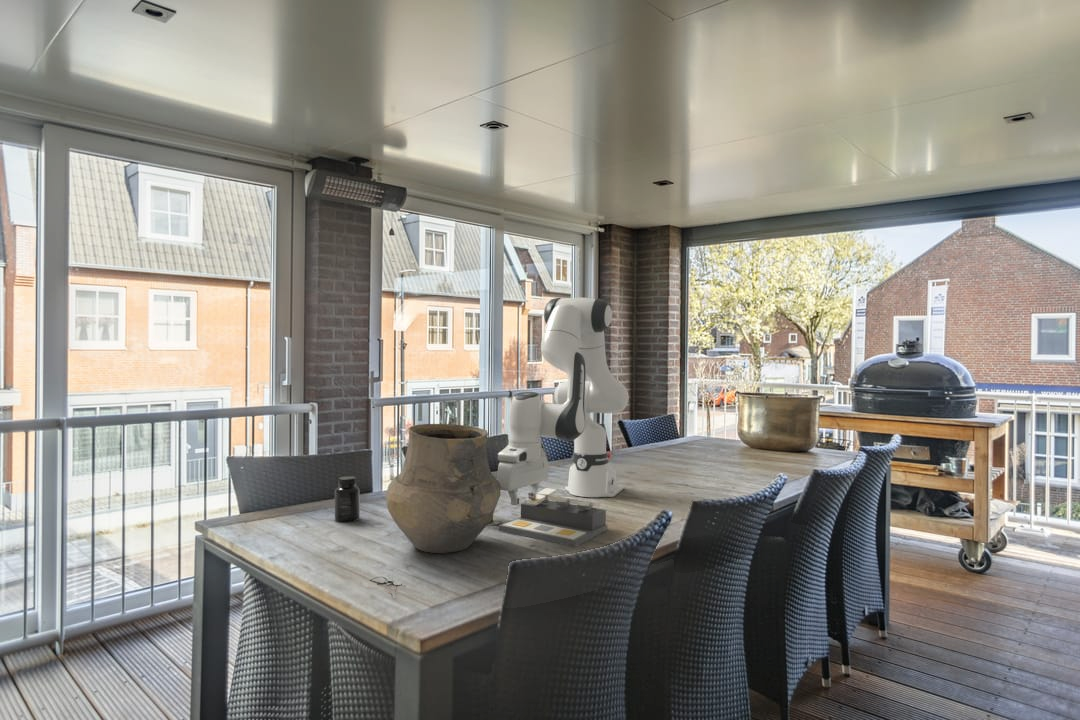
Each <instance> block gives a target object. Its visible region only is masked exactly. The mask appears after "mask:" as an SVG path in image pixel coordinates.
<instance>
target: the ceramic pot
mask: <svg viewBox="0 0 1080 720" xmlns="http://www.w3.org/2000/svg"><path fill="white" fill-rule="evenodd" d="M488 437H489V433H488V430H486V429H483V428H479V427H475V426H470V425H464V424H463V425H462V424H452V423H423V424H416V425H411V426H410V427H408V443H407V447H406V449H407V450H406V452H405V453H406V454H405V458H404V462H403V465H402V469H401V472H400V473H399V474H397V475H396V476H394V477H393V479H392V480H391V481H390V483H389V484H388V486H387V490H386V493H385V503H386V506H387V510H388V512H389V514H390V516H391V518H392V520H393V521H394V523H395V524H396V525H397V527H398V528H399V530H401V532H402V533H403V534H404V535H405V537H406V538H407V540H408V541H410V543H411V544H412V545H413V547H414V548H416V549H417V550H418V551H420V550H421V552H422V551H425V552H424V553H427V552H432V553H431V554H447V553H446V552H450V553H455V552H454V551H457V552H461V551H463V549H464V550H465V548H466V549H468V548H469V547H470V546H471V545H472V543H473V542H474V541H475V540H476V539H477V538H478V536H479V535H480V534H481V533H482V532H483V530H485V528H486V527H487V526H489V525H488V524H489V523H490V521H491V519H492V516H493V517H494V513H495V510H496V508H497V505H498V503H499V500H500V497H501V491H502V490H501V486H500V483H499V482H498V478H496V476H494V475H493V474H492V471H491V467H490V466H489V465H490V464H489V461H488V456H487V440H488ZM460 550H461V551H460Z"/></svg>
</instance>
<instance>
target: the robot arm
mask: <svg viewBox="0 0 1080 720" xmlns="http://www.w3.org/2000/svg"><path fill="white" fill-rule="evenodd" d="M543 319H544V322H545V328H544V331H543V335H542V339H541V343H540V344H541V345H540V351H541V355H542V357H543V358H544V359H545V360H546V362H547V363H548V364H550V365H551V366H553V368H556V369H558V370H560V371H562V372H564V373H565V374H567V381H563V382H560V383H558V385H557V386H556V387H555V390H554V393H553V396H554V401H555V402H554V403H548V402H547V403H546V402H545V401H543V400H541V395H540V394H539V393H537V392H535V391H525V392H519V393H516V394H514V395H513V397H512V400H511V403H510V410H509V428H510V429H509V430H510V436H509V438H508V444H507V445H506V446H505V448H503V449H502V450H500V451H499V452H498V453H497V460H498V461H499V463H498V465H497V466H498V467H497V480H498V482H499V483H500V486H501V490H500V491H503V492H507V493H508V495H509V498H510V505H512V506H518V505H519V504H520V498H519V497H518V495H517V494H518V492H519V491H518V490H519V489H521V488H525V487H528V486H529V487H530V489H529V492H528V494H527V495H528V497H527V499H528V498H529V499H532V500H533V499H536V493H538V490H539V487H540V483H541V482H546V481H547V479H548V478H549V464H548V463H549V461H548V457H547V456H546V451H545V450H544V448H542V438H541V437H544V438H550V439H559V440H561V441H563V440H564V441H568V442H573V444H574V445H573V450H574V451H573V452H572V463H573V464H572V465H570V467H569V473H568V484H567V486H565V488H564V490H565V491H567V492H568V494H569V495H572V496H575V497H581V498H582V497H583V498H584V497H585V498H602V497H604V498H605V497H606V498H607V497H608V498H614V497H616V496H617V495H618V494H619V493H620V492H621V491H622V490H624V485H621V484H618V479H617V477H618V474H617V472H616V470H614V469H613V467H612V466H611V465H610V464H609V462H610V461H609V459H611V458H612V452H611V451H610V452H608V451H607V432H606V429H605V428H604V426H602V425H601V424H599V423H598V422H596V421H594V420H593V419H592V418H591V415H590V413H594V414H615V413H619V412H623V411H624V410H625V409H626V407H627V406H628V403H629V398H630V397H629V392H628V389H627V388H626V386H625V385H624V383H621V382H620V381H619V380H617V378H616V377H615V376H614V375H613V374H612V372H611V371H610V368H609V366H608V363H607V362H608V361H607V356H606V340H605V331H606V330H608V329H609V328H610V326H611V323H612V319H613V312H612V306H611V304H610V303H609V301H608V300H606V299H602V298H592V297H591V298H590V297H565V298H562V297H556V298H552V299H550V300H549V301H548V302H547V303H546V304H545V308H544V312H543ZM586 377H587V378H588V379H589V380H586Z"/></svg>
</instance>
